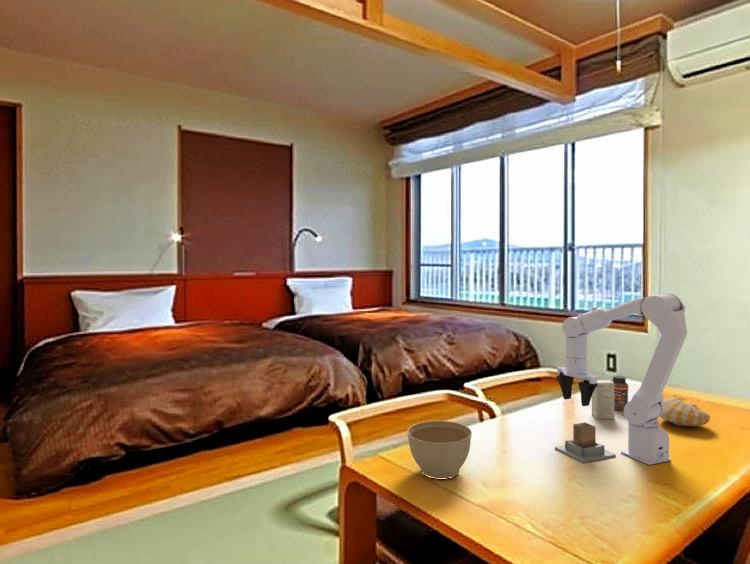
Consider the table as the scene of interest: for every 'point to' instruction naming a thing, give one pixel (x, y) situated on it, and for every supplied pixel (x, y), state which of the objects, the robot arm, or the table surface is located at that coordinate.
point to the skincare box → (603, 400)
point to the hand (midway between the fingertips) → (576, 402)
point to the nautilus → (683, 413)
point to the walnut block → (584, 435)
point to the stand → (585, 452)
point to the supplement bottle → (620, 392)
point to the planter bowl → (439, 447)
